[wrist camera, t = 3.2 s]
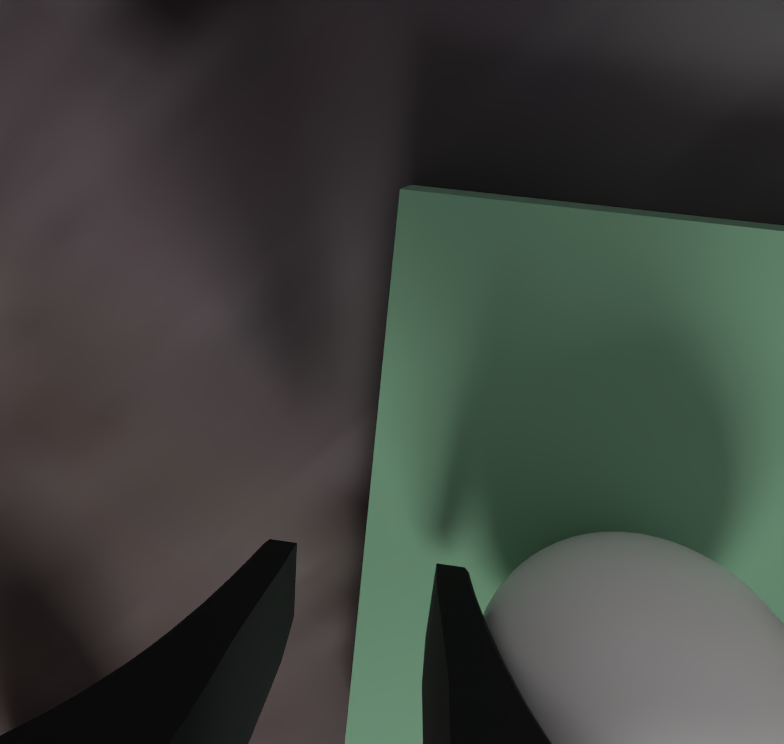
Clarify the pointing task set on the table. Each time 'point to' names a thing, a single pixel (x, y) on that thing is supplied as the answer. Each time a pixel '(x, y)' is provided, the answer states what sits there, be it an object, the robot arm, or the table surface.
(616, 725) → the white ball
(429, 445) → the putting board
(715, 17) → the table surface
